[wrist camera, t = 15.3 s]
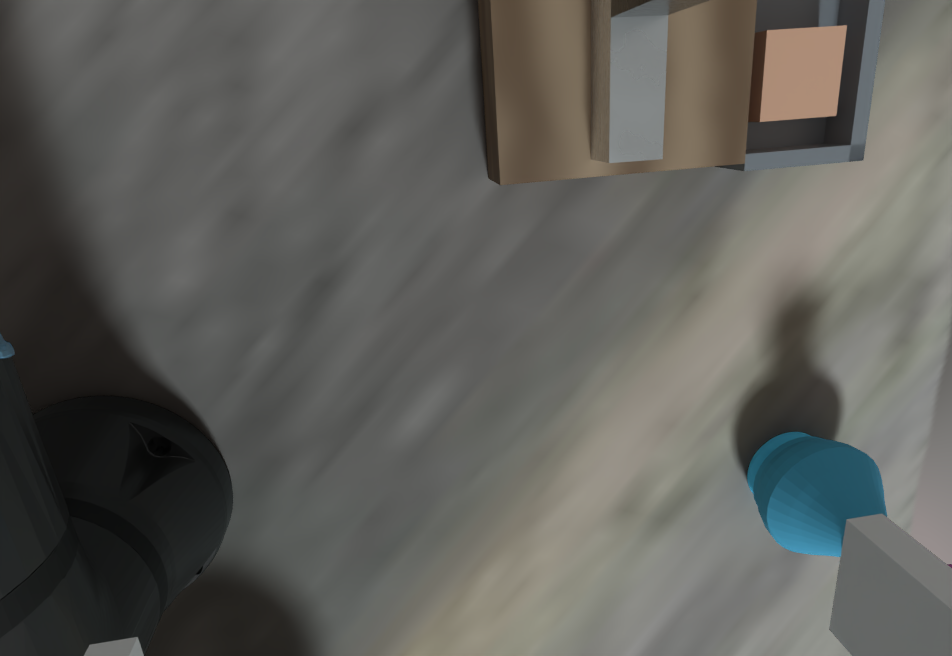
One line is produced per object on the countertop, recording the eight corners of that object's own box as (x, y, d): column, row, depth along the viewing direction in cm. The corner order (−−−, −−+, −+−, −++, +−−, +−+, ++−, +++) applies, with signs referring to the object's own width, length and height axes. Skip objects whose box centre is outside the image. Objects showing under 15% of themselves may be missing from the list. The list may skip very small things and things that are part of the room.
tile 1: (737, 121, 39) (759, 122, 37) (742, 35, 38) (767, 30, 35) (809, 115, 40) (836, 115, 38) (818, 30, 38) (847, 25, 36)
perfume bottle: (712, 500, 50) (842, 649, 36) (768, 402, 48) (931, 521, 34) (800, 527, 53) (954, 677, 39) (858, 435, 50) (1044, 559, 36)
